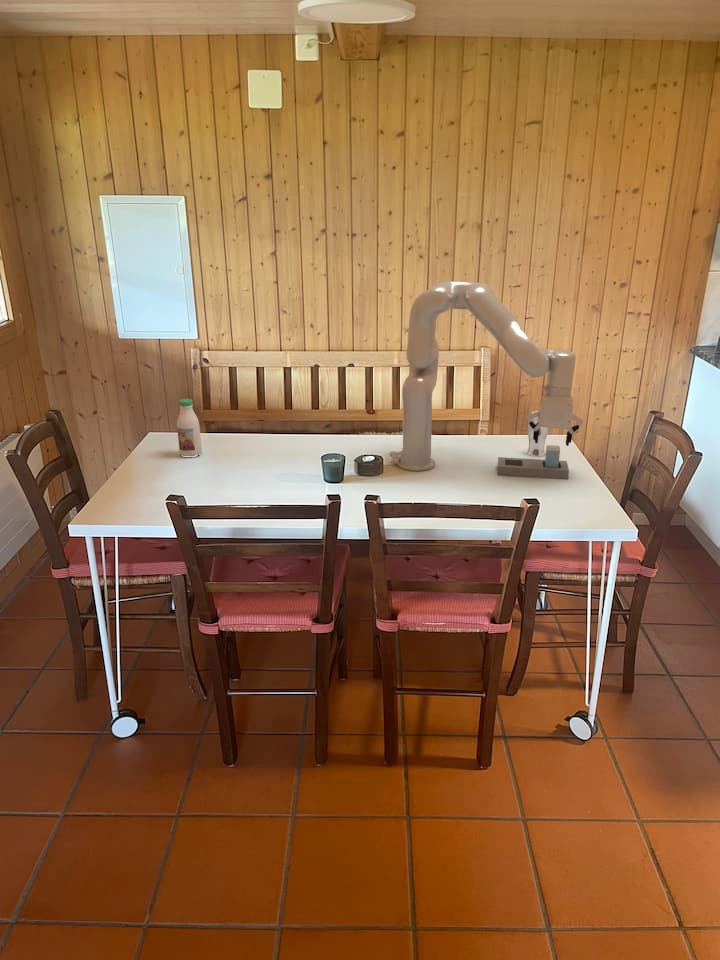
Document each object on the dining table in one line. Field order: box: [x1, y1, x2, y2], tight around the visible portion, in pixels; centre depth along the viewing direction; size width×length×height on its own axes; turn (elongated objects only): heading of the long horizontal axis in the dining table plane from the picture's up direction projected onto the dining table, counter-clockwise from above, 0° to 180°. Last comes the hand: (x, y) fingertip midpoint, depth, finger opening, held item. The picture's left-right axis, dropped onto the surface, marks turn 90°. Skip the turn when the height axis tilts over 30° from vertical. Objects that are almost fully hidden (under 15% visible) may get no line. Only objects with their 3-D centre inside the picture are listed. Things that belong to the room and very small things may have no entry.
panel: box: [496, 456, 570, 480], centre depth 226 cm, size 22×9×4 cm, turn 79°
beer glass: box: [526, 410, 549, 458], centre depth 241 cm, size 7×7×15 cm
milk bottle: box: [176, 398, 203, 456], centre depth 243 cm, size 8×8×20 cm
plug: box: [544, 444, 561, 468], centre depth 224 cm, size 4×4×9 cm
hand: (551, 443), depth 222 cm, fingers open, 9 cm apart
